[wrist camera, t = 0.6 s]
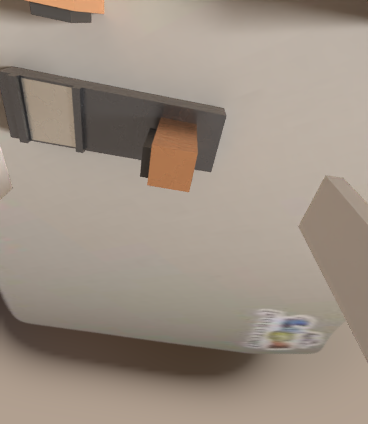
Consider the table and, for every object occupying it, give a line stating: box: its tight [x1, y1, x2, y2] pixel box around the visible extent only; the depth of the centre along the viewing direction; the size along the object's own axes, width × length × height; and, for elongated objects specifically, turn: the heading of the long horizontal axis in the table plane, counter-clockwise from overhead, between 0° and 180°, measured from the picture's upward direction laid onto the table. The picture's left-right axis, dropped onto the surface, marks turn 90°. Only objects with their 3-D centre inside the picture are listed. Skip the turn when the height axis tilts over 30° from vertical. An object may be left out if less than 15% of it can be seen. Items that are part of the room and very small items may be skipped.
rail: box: [0, 67, 226, 192], centre depth 27 cm, size 7×24×11 cm, turn 80°
